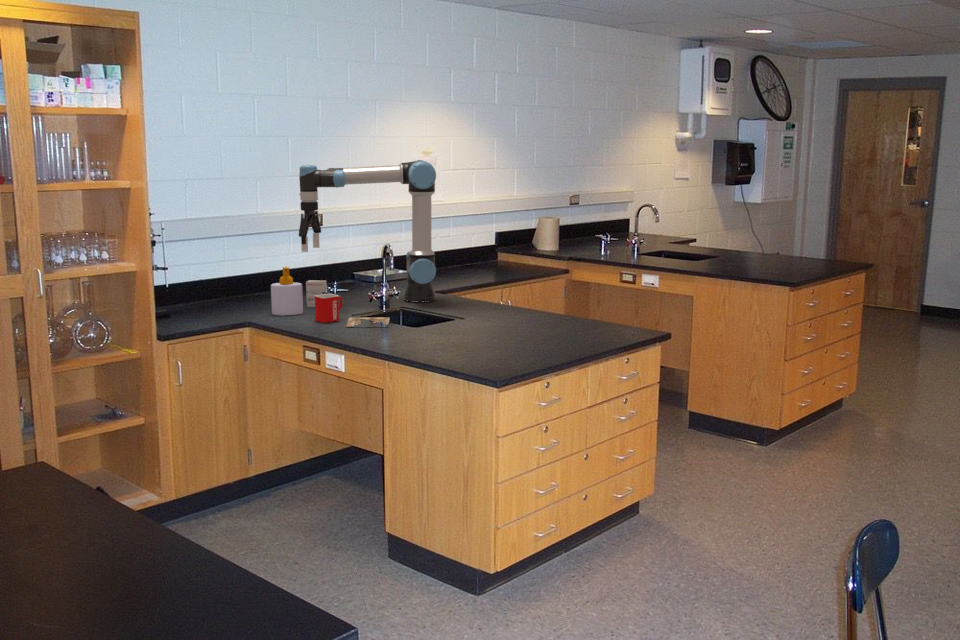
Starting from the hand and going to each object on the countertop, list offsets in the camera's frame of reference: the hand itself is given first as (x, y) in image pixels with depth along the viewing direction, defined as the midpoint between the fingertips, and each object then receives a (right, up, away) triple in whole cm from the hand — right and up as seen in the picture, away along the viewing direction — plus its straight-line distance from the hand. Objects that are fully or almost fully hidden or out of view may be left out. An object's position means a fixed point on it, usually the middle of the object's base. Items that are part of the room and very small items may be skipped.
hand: (310, 249), depth 412 cm
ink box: (+1, -25, +10) cm, 27 cm away
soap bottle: (-9, -28, -6) cm, 30 cm away
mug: (+12, -31, -18) cm, 38 cm away
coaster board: (+28, -32, -24) cm, 49 cm away
